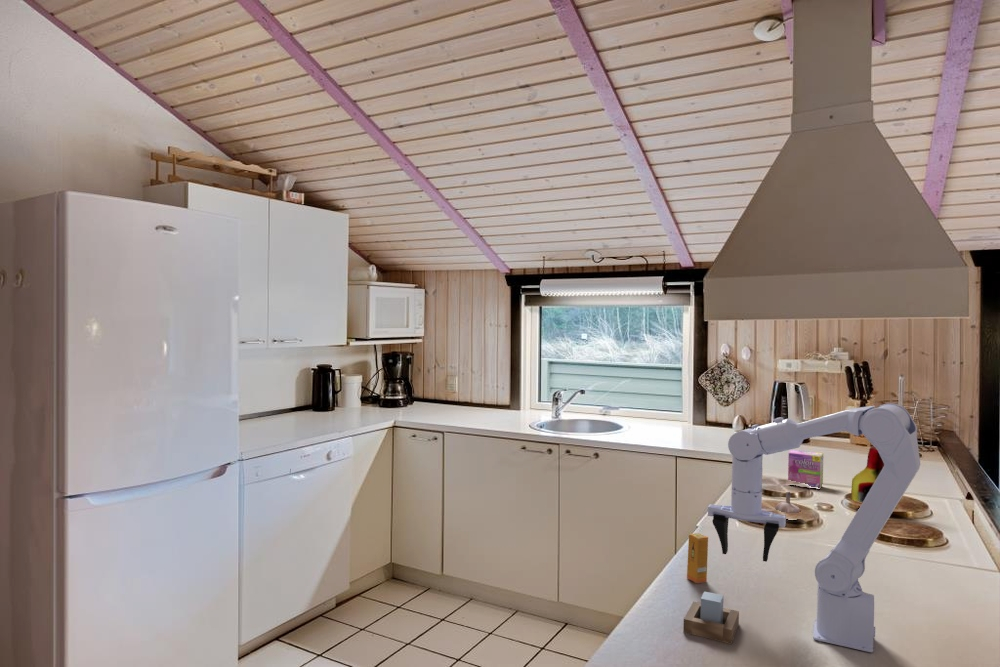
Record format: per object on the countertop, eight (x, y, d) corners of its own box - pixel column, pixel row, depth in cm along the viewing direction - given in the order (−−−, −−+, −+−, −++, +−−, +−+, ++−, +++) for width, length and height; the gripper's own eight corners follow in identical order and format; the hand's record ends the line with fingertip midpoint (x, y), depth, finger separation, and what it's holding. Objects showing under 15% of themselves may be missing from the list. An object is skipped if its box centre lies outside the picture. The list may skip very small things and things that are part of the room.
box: (787, 485, 227) (788, 452, 227) (790, 482, 232) (791, 449, 231) (820, 490, 221) (821, 456, 221) (822, 487, 226) (823, 453, 225)
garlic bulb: (775, 513, 194) (776, 487, 194) (802, 517, 191) (803, 490, 191) (774, 520, 188) (774, 493, 187) (801, 524, 184) (802, 496, 184)
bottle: (897, 513, 196) (899, 447, 196) (894, 518, 191) (896, 450, 191) (853, 505, 204) (855, 442, 203) (848, 510, 199) (850, 445, 198)
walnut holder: (738, 624, 124) (739, 611, 124) (731, 643, 116) (731, 630, 116) (693, 613, 128) (693, 601, 128) (683, 632, 120) (683, 618, 120)
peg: (722, 626, 123) (723, 595, 123) (719, 634, 120) (720, 602, 120) (703, 622, 124) (704, 591, 124) (700, 630, 121) (700, 598, 121)
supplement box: (708, 581, 143) (709, 536, 143) (696, 584, 142) (697, 538, 142) (698, 576, 146) (699, 532, 146) (685, 578, 145) (687, 534, 145)
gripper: (787, 489, 130) (785, 556, 131) (712, 480, 137) (711, 543, 138) (784, 498, 124) (782, 568, 125) (706, 487, 131) (704, 554, 132)
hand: (744, 556), depth 131 cm, fingers open, 7 cm apart
